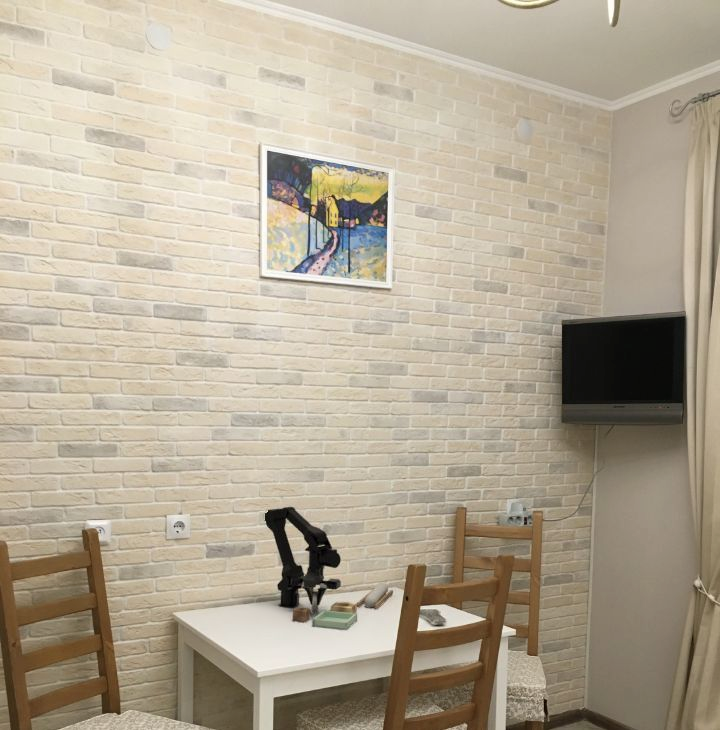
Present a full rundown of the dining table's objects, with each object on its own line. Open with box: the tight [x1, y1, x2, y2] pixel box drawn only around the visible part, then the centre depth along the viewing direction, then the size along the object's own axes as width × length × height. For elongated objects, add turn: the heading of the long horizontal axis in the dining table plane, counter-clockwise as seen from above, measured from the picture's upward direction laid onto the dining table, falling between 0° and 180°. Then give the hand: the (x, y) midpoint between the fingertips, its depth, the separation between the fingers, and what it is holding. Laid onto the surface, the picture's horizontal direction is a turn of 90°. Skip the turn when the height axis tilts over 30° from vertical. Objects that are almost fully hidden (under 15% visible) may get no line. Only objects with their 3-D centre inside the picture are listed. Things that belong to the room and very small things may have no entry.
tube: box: [364, 582, 389, 608], centre depth 321 cm, size 5×5×25 cm
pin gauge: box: [311, 590, 319, 614], centre depth 301 cm, size 2×2×8 cm
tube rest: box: [356, 589, 394, 610], centre depth 321 cm, size 8×26×2 cm, turn 163°
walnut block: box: [292, 606, 311, 623], centre depth 290 cm, size 5×5×4 cm
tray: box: [311, 609, 358, 631], centre depth 286 cm, size 13×13×2 cm
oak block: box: [330, 600, 358, 614], centre depth 300 cm, size 8×8×4 cm
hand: (315, 604), depth 301 cm, fingers closed on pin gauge, 2 cm apart
